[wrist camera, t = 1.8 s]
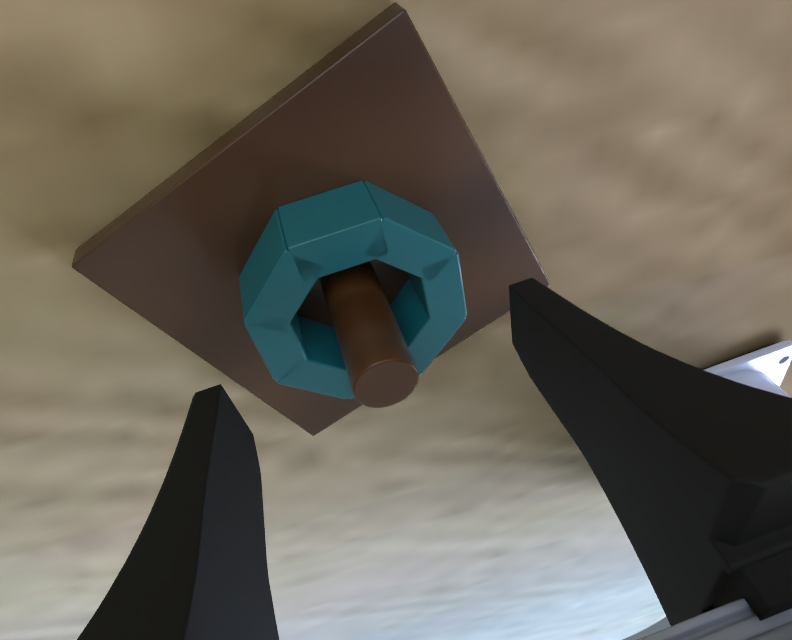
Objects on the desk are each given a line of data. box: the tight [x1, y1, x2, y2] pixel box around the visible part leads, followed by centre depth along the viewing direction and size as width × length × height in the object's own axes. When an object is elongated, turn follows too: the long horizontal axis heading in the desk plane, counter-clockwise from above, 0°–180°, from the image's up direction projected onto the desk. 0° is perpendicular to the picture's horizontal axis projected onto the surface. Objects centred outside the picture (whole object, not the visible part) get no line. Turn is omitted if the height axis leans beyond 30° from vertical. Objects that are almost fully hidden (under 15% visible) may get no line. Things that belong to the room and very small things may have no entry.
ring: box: [239, 181, 467, 399], centre depth 15 cm, size 6×6×2 cm
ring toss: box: [72, 3, 550, 436], centre depth 15 cm, size 10×10×5 cm
